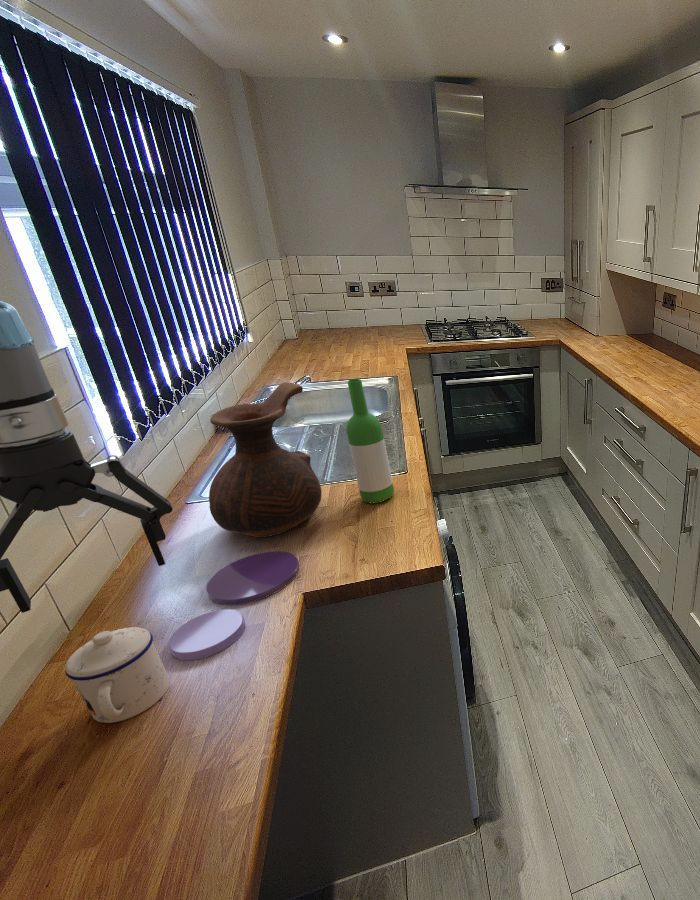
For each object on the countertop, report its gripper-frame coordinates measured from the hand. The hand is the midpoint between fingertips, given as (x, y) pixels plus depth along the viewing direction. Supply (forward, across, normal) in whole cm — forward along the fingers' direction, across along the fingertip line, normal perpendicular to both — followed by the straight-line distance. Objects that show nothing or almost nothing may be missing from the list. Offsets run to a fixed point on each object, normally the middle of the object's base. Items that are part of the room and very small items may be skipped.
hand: (97, 582), depth 71 cm
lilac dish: (+18, +9, +4) cm, 20 cm away
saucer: (+18, +18, +17) cm, 31 cm away
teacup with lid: (+18, -2, -4) cm, 19 cm away
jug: (+18, +27, +37) cm, 50 cm away
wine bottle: (+18, +49, +32) cm, 61 cm away
